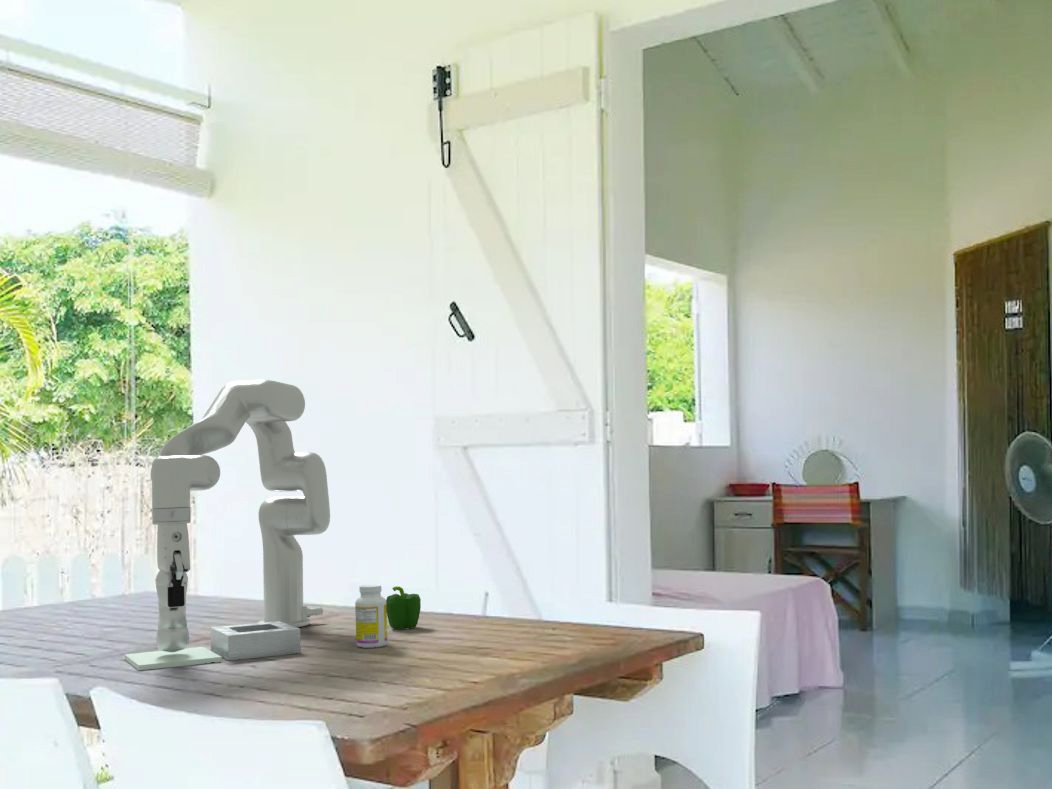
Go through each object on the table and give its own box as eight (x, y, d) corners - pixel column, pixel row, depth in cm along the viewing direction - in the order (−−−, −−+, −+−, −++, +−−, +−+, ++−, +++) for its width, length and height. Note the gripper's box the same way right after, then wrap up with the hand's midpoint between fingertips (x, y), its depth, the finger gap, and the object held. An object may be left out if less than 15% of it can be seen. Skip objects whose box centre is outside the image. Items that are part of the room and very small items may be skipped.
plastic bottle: (196, 649, 236) (195, 551, 237) (175, 655, 229) (174, 554, 230) (169, 648, 238) (168, 551, 239) (149, 654, 231) (147, 554, 232)
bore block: (279, 644, 251) (279, 621, 252) (300, 653, 238) (300, 628, 239) (210, 651, 244) (210, 627, 244) (228, 660, 231) (228, 635, 231)
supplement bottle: (374, 642, 250) (373, 583, 251) (393, 645, 245) (392, 585, 246) (349, 646, 245) (348, 586, 246) (368, 649, 241) (367, 588, 241)
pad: (203, 651, 244) (203, 646, 244) (221, 661, 230) (221, 656, 230) (124, 659, 236) (124, 654, 236) (138, 670, 222) (138, 665, 222)
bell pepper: (416, 624, 277) (416, 583, 277) (424, 629, 269) (423, 586, 269) (382, 627, 274) (381, 585, 274) (389, 631, 266) (388, 588, 267)
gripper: (199, 517, 229) (200, 607, 228) (181, 514, 244) (182, 599, 243) (161, 518, 226) (162, 610, 225) (144, 516, 241) (145, 602, 240)
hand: (172, 604), depth 234 cm, fingers open, 6 cm apart
